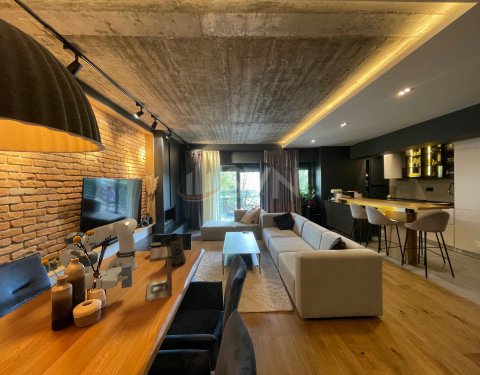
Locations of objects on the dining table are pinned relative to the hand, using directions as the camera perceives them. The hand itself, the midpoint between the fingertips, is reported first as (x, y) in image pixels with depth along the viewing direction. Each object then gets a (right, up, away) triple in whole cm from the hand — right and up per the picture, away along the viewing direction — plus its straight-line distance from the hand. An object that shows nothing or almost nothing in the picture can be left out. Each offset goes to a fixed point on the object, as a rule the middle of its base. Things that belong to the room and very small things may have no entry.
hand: (128, 274), depth 120 cm
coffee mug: (-15, -12, +73) cm, 75 cm away
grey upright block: (-1, -7, 0) cm, 7 cm away
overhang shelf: (+16, -13, +7) cm, 21 cm away
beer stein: (+12, -12, +49) cm, 52 cm away
